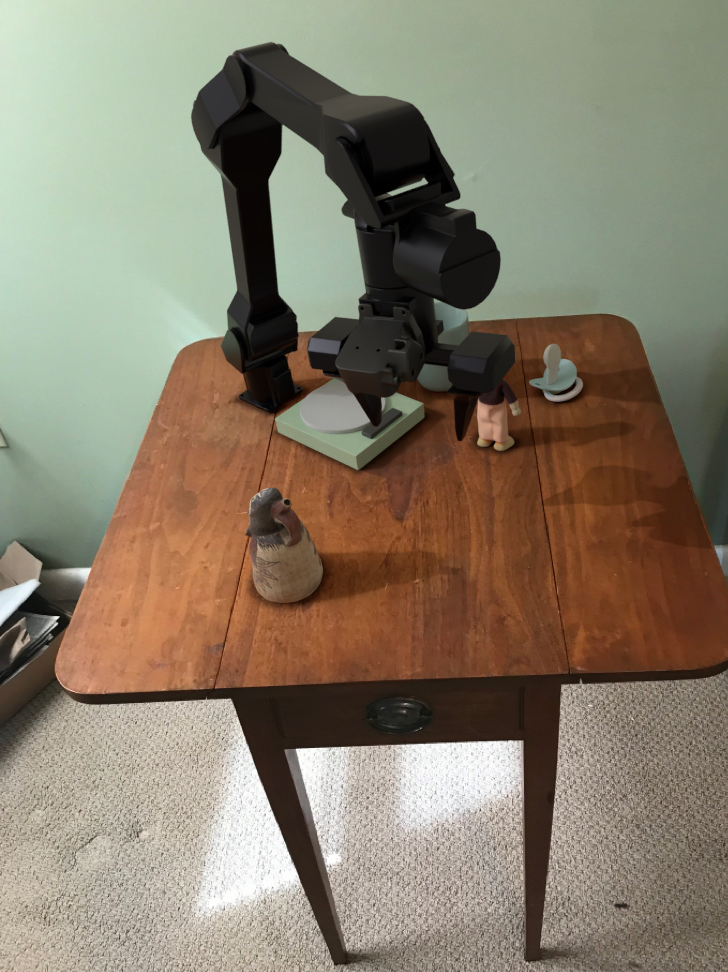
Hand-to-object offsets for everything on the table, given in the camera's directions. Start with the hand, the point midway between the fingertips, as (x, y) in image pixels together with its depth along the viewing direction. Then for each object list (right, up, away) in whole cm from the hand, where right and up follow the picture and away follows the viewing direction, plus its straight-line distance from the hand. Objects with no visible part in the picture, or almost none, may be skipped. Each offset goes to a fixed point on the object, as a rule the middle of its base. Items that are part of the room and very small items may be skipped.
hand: (418, 431), depth 75 cm
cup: (+4, +11, +30) cm, 32 cm away
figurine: (-13, -15, +6) cm, 21 cm away
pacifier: (+19, +9, +27) cm, 34 cm away
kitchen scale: (-8, +4, +24) cm, 26 cm away
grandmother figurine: (+9, +1, +20) cm, 22 cm away
